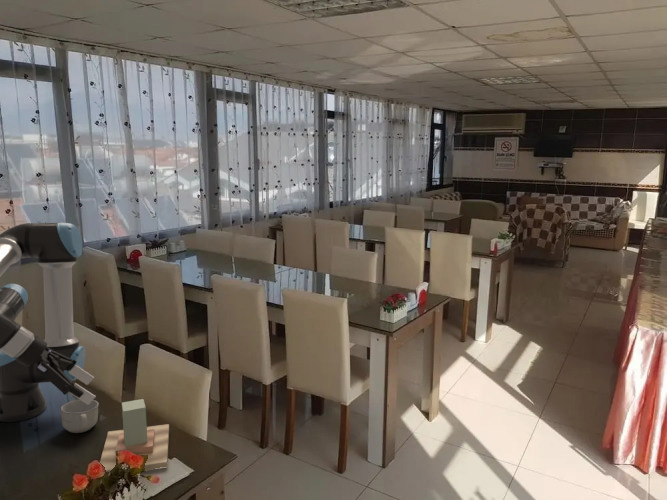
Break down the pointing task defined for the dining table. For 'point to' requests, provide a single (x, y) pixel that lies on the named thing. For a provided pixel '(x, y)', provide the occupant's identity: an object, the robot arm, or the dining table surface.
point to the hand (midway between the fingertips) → (91, 390)
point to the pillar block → (134, 422)
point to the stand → (138, 447)
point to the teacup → (79, 415)
